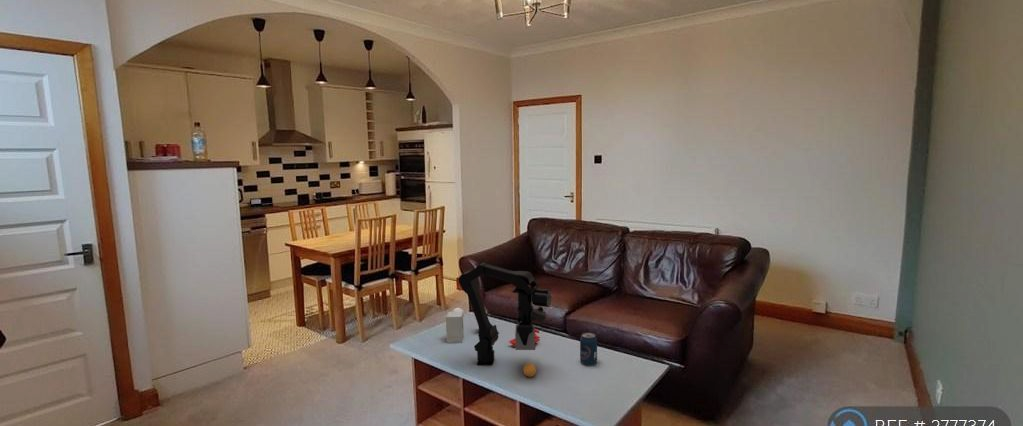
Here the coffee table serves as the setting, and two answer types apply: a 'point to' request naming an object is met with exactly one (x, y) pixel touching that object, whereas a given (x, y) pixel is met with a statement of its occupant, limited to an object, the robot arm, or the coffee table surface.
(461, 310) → the lightbulb
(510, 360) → the coffee table surface
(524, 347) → the grey cube
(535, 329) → the animal figurine
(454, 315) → the supplement box
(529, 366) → the ball
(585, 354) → the soda can
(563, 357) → the coffee table surface
